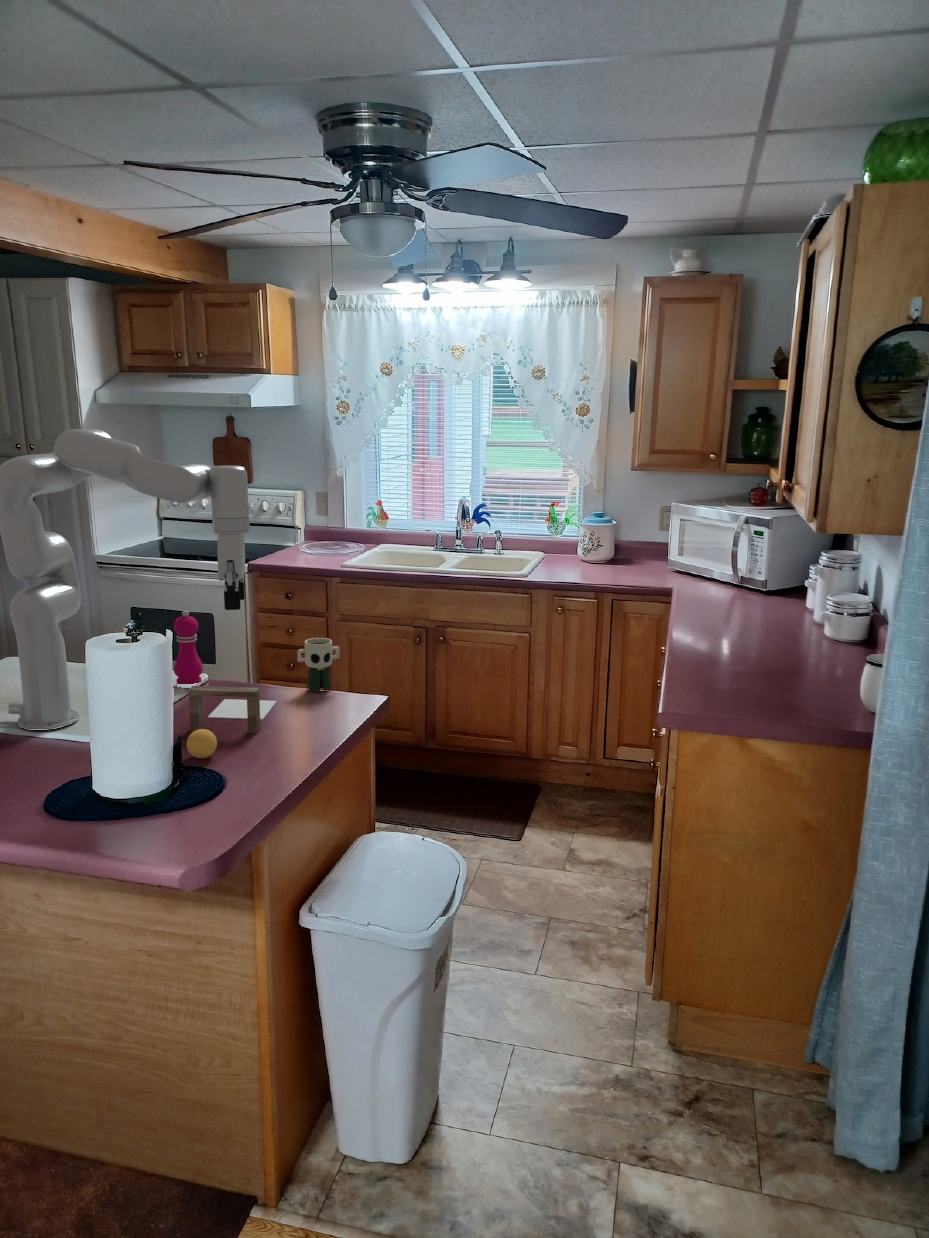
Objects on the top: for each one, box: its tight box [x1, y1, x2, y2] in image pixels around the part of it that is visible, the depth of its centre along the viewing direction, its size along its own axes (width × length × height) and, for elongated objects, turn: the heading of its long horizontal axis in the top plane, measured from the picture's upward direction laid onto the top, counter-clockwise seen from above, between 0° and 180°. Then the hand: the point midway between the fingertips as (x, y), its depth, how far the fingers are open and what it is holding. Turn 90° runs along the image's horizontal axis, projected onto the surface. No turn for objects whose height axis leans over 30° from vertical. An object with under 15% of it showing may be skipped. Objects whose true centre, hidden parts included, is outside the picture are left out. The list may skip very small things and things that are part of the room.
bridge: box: [187, 685, 261, 734], centre depth 198 cm, size 3×15×10 cm, turn 88°
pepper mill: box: [173, 610, 204, 685], centre depth 227 cm, size 7×7×20 cm
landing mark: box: [207, 698, 278, 721], centre depth 212 cm, size 13×13×1 cm
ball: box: [186, 728, 218, 759], centre depth 182 cm, size 6×6×6 cm
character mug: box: [296, 637, 340, 692], centre depth 227 cm, size 11×7×13 cm, turn 112°
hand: (234, 604), depth 190 cm, fingers open, 9 cm apart
